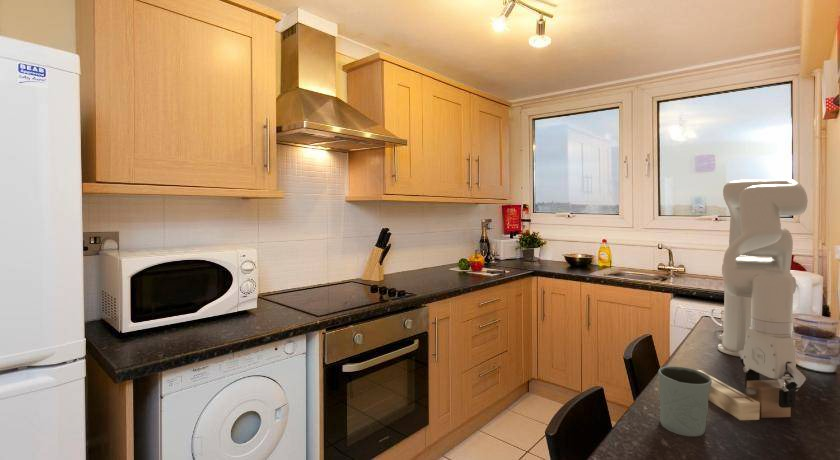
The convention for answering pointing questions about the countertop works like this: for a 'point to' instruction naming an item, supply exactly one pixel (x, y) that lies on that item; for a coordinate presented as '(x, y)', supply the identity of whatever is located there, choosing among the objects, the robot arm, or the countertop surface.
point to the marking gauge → (767, 398)
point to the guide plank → (733, 400)
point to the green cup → (683, 400)
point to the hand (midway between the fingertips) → (768, 397)
